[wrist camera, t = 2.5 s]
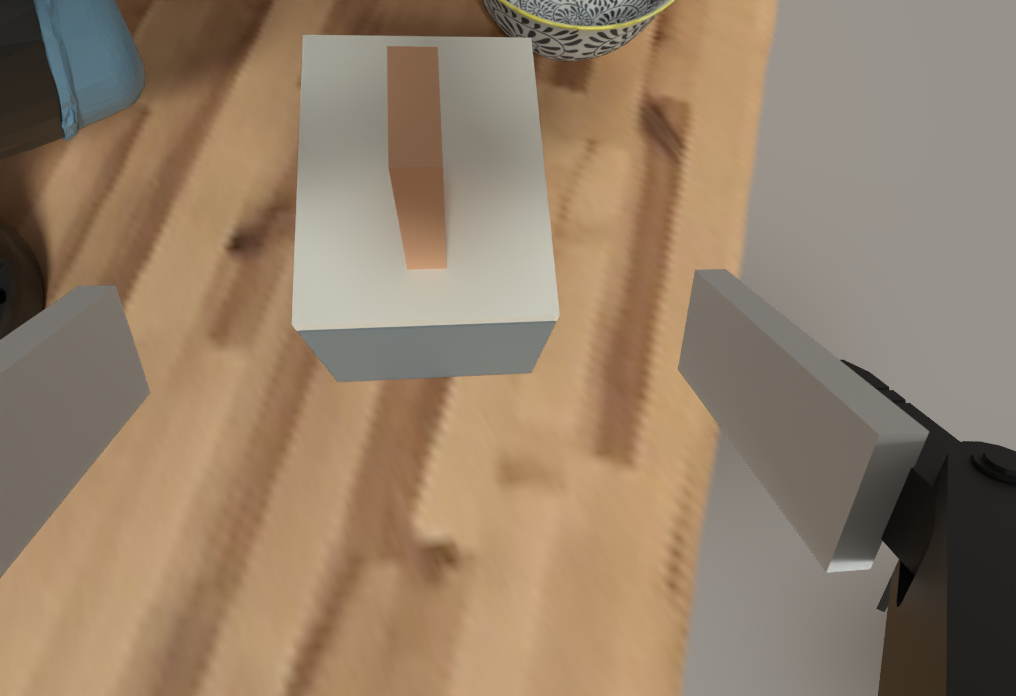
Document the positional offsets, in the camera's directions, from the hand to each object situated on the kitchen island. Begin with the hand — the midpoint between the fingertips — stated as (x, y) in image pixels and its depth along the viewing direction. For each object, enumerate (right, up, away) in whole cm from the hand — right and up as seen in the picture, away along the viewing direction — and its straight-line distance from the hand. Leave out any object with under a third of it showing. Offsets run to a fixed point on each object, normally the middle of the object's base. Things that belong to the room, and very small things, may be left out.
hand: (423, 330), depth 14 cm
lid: (-2, +8, +16) cm, 18 cm away
